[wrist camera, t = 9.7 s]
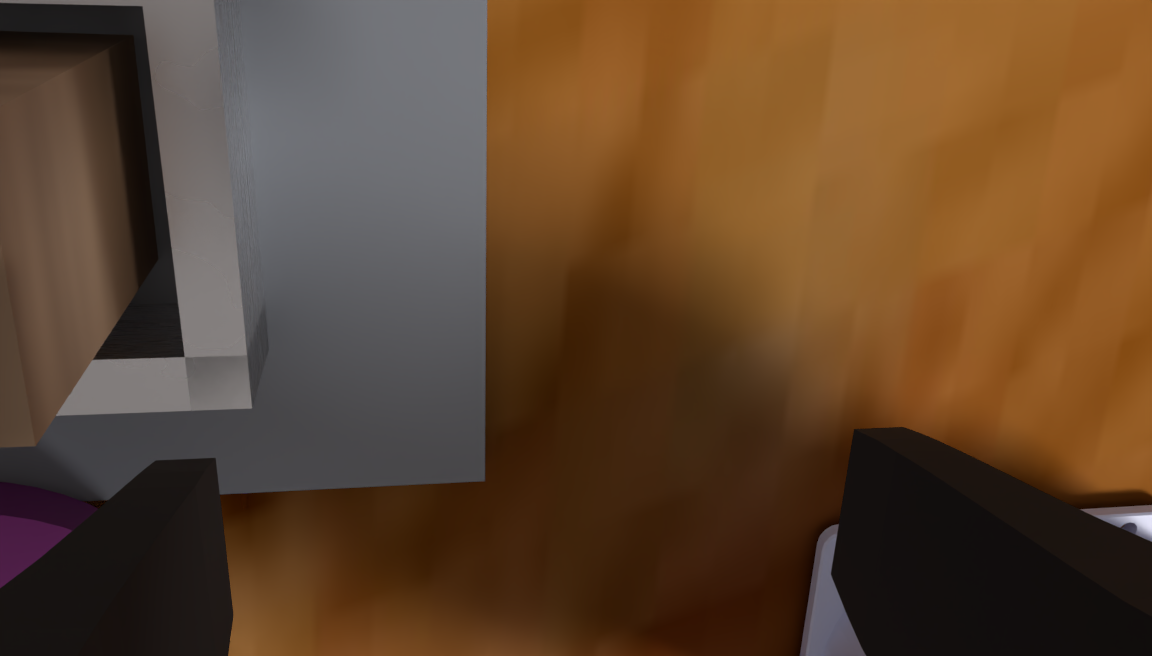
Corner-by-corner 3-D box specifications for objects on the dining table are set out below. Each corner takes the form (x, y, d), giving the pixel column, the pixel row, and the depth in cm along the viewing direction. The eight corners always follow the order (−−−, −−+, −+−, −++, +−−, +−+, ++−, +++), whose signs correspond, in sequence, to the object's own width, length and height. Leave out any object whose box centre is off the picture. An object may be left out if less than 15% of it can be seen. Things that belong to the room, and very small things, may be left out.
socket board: (484, -269, 17) (502, -304, 14) (482, 462, 22) (495, 549, 19) (-645, -345, 14) (-916, -407, 12) (-341, 500, 20) (-473, 608, 17)
